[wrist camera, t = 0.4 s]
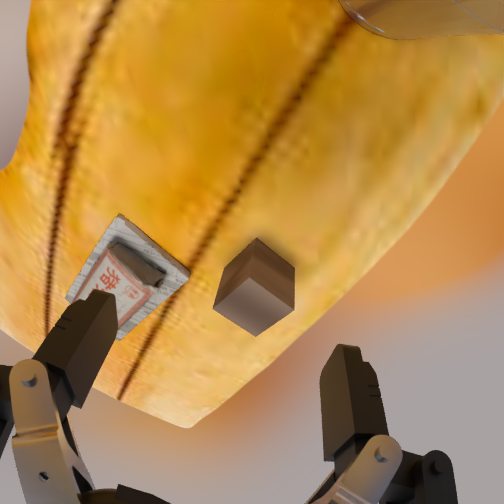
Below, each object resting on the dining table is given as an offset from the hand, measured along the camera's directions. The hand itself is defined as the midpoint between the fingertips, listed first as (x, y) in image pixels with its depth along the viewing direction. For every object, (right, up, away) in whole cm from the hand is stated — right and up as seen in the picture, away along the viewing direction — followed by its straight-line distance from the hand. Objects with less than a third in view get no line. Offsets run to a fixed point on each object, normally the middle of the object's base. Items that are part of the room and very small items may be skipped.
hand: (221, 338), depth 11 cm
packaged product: (-15, -1, +25) cm, 29 cm away
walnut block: (+2, +1, +21) cm, 21 cm away
